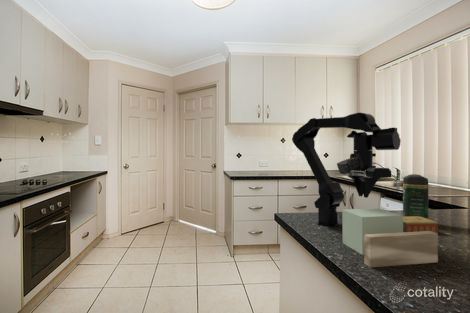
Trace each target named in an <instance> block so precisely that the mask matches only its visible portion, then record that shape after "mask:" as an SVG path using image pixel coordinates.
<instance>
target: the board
mask: <svg viewBox="0 0 470 313" xmlns="http://www.w3.org/2000/svg"><path fill="white" fill-rule="evenodd" d="M438 234H439V232H438V233H435V232H432V231H420V232H402V233H384V234H366V235H364V255H363V256H364V258H363V259H364V261H363V262H364V265H365V266H367V267H368V268H378V267H379V268H380V267H394V266H405V265H419V264H421V265H422V264H431V263H432V264H433V263H438V262H439V253H438V252H439V246H438V245H439V241H438V240H439V238H438V237H439V235H438Z"/></svg>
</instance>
